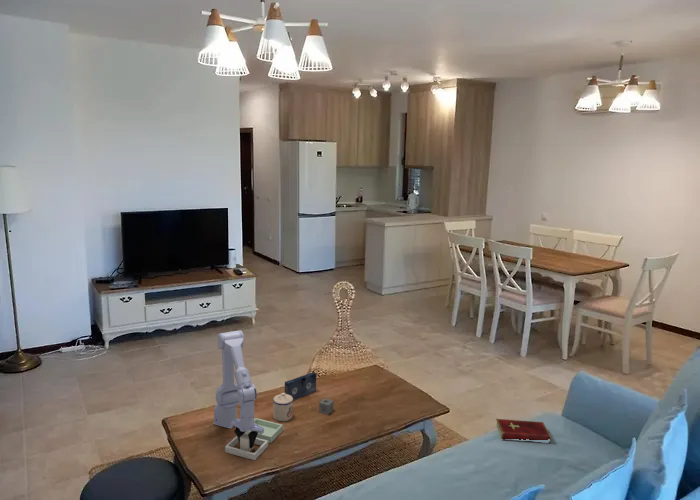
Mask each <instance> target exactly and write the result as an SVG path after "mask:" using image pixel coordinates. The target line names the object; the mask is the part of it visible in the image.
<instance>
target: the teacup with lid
mask: <svg viewBox="0 0 700 500" xmlns="http://www.w3.org/2000/svg"><path fill="white" fill-rule="evenodd" d="M272 401H273V413H272V414H273V415H272V416H273V419H274V420H275V421H277V422H287V421H289V420H291V419H292V418H293V410H294V409H293V408H294V407H293V403H294V402H293V401H294V400H293V397H292V396H291V395H288V394H285V392H282V393H280V394H277V395H275V396H274V397H273V399H272Z"/></svg>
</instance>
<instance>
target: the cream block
mask: <svg viewBox="0 0 700 500" xmlns="http://www.w3.org/2000/svg"><path fill="white" fill-rule="evenodd" d="M248 434H249V433H246V432H245V433H244V434H243V435H242V436H241V437H240V443H239V449H241V450H245V451H248V452H252V450H253V449H254V448H255V445H254V446H253V447H252V448H250V442H249V437H248Z"/></svg>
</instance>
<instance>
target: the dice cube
mask: <svg viewBox="0 0 700 500" xmlns="http://www.w3.org/2000/svg"><path fill="white" fill-rule="evenodd" d="M334 402H335V401H334V400H332V399H329V398H323V399H322V400H320V401H319V405H318V413H320V414H324V415H327V416H329V415H330V414H331V413H332V412H334V406H335V405H334Z"/></svg>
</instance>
